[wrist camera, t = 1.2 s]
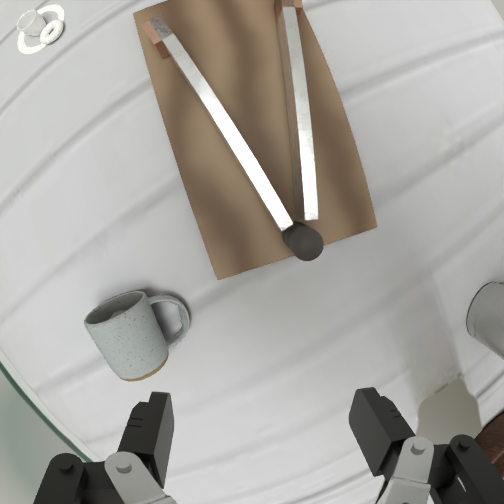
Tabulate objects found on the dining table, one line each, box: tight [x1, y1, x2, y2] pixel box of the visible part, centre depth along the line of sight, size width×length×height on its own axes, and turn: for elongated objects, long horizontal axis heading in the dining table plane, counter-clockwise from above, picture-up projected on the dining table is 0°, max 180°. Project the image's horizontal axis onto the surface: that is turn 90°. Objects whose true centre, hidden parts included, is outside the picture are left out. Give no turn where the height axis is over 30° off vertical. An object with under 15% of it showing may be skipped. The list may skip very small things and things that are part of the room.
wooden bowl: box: [464, 412, 504, 490], centre depth 42 cm, size 25×25×10 cm
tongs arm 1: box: [274, 0, 318, 220], centre depth 26 cm, size 24×2×4 cm, turn 5°
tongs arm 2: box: [142, 15, 293, 231], centre depth 26 cm, size 24×2×4 cm, turn 31°
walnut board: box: [133, 0, 377, 280], centre depth 26 cm, size 18×32×6 cm, turn 18°
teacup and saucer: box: [17, 4, 65, 54], centre depth 22 cm, size 9×8×4 cm
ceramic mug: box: [84, 291, 190, 381], centre depth 30 cm, size 10×8×7 cm
